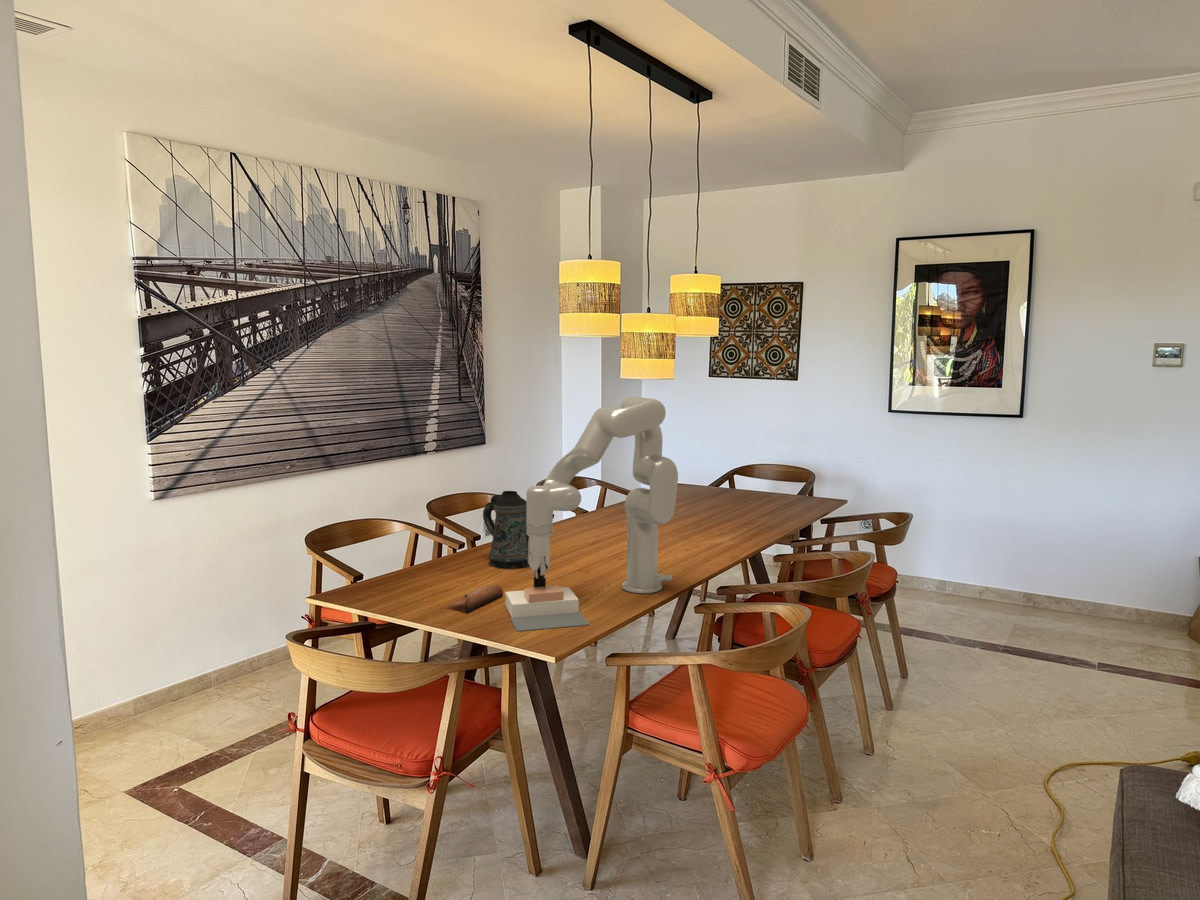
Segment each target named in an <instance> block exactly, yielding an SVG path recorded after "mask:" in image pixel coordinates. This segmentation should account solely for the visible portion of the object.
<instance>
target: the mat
mask: <svg viewBox="0 0 1200 900" xmlns="http://www.w3.org/2000/svg"><path fill="white" fill-rule="evenodd" d="M510 621H511V623H512V624H513V626H514V628H515V631H516V632H518V633H519V632H520V633H521V632H529V631H538V630H539V631H541V630H542V631H543V630H550V629H551V630H553V629H562V628H572V627H573V628H574V627H584V626H587V627H588V626H591V625H590V623H589V620H587V618H586V617H585V616H584V615H583V614H582V612H579V611H578V613H567V614H556V615H544V616H532V617H520V618H512V617H511V618H510Z"/></svg>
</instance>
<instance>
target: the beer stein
mask: <svg viewBox="0 0 1200 900" xmlns="http://www.w3.org/2000/svg"><path fill="white" fill-rule="evenodd" d="M492 511H494V512H495V519H494V521H493V519H492V518H493V517H492ZM482 517H483V522H484V525H485V527H486V529H487V530H488V532H489V533H490V535H491V536H492V541H491V547H490V549H489V553H488V559H489V564H490V566H492V567H493V568H496V569H504V570H517V569H518V570H520V569H526V568H531V567H530V566H529V564H528V542H529V536H528V535H527V512H526V499H524V498H523V497H521V496H520V494H518V491H515V490H503V491H502V493H501V494H495V495H493V496H492V497H491V499H490V501H489V502H487V503H486V504H485V505H484V508H483V511H482Z"/></svg>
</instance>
